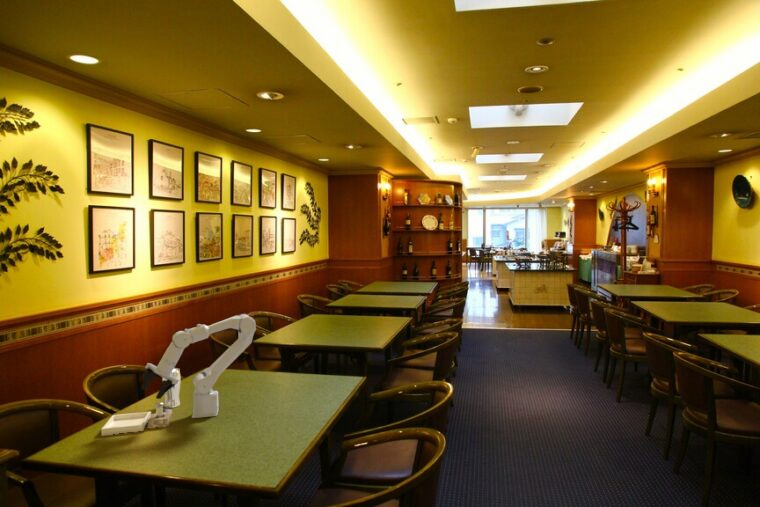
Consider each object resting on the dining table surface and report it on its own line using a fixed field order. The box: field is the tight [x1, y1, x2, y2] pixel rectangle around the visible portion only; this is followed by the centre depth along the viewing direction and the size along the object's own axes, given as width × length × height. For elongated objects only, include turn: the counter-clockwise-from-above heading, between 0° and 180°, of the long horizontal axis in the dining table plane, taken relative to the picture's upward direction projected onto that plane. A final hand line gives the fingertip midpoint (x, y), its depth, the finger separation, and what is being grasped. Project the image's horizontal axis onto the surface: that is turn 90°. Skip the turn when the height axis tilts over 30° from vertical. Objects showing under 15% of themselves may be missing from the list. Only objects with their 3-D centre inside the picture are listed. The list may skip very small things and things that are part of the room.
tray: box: [100, 411, 152, 437], centre depth 178 cm, size 14×14×2 cm
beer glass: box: [162, 367, 182, 409], centre depth 199 cm, size 7×7×15 cm
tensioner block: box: [147, 408, 173, 429], centre depth 183 cm, size 7×14×3 cm, turn 14°
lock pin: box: [154, 401, 165, 418], centre depth 180 cm, size 3×3×8 cm
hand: (150, 393), depth 180 cm, fingers open, 7 cm apart
